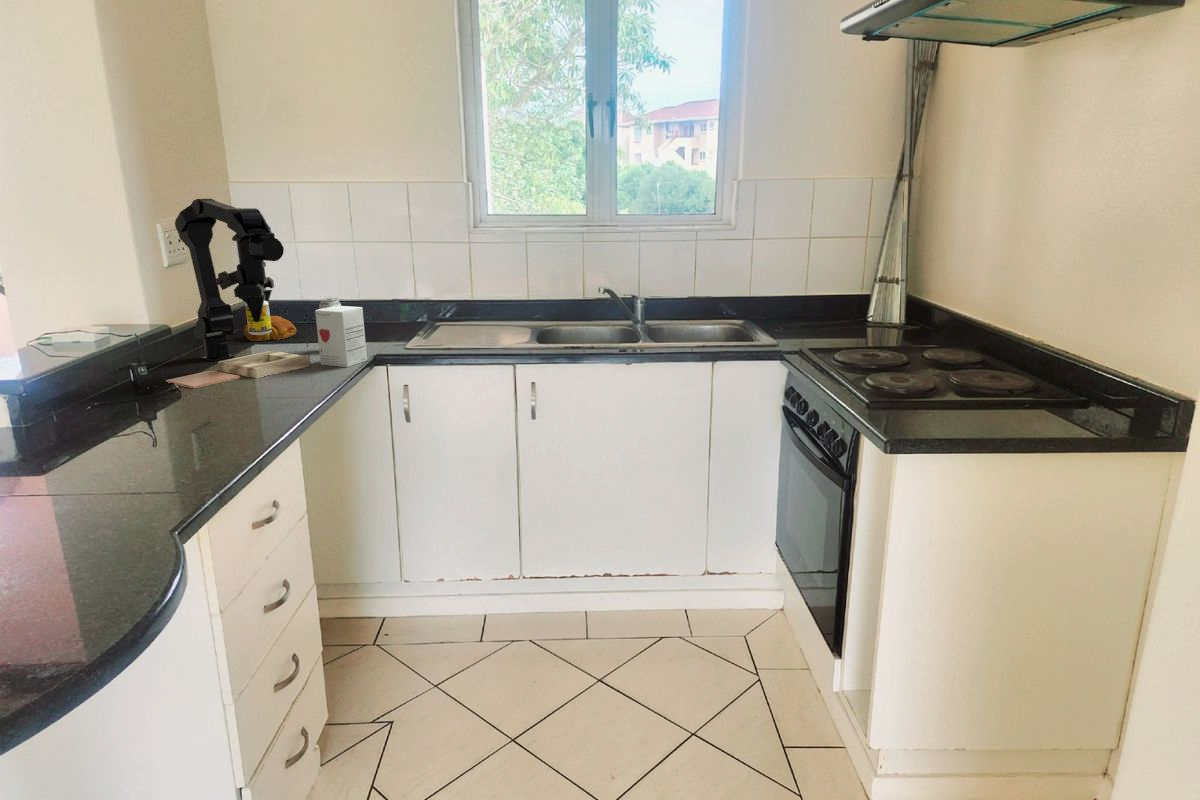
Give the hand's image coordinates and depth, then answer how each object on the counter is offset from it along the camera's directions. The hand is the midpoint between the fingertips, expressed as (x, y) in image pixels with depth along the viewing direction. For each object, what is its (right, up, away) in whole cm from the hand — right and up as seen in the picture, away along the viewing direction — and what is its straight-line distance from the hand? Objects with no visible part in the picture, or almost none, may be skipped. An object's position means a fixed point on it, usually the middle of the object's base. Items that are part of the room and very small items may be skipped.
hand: (259, 320), depth 199 cm
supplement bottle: (0, -4, +1) cm, 4 cm away
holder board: (0, -12, +3) cm, 13 cm away
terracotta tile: (-10, -16, -9) cm, 21 cm away
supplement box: (+19, -11, +9) cm, 24 cm away
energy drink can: (+11, -6, +25) cm, 28 cm away
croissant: (-16, -1, +46) cm, 49 cm away
